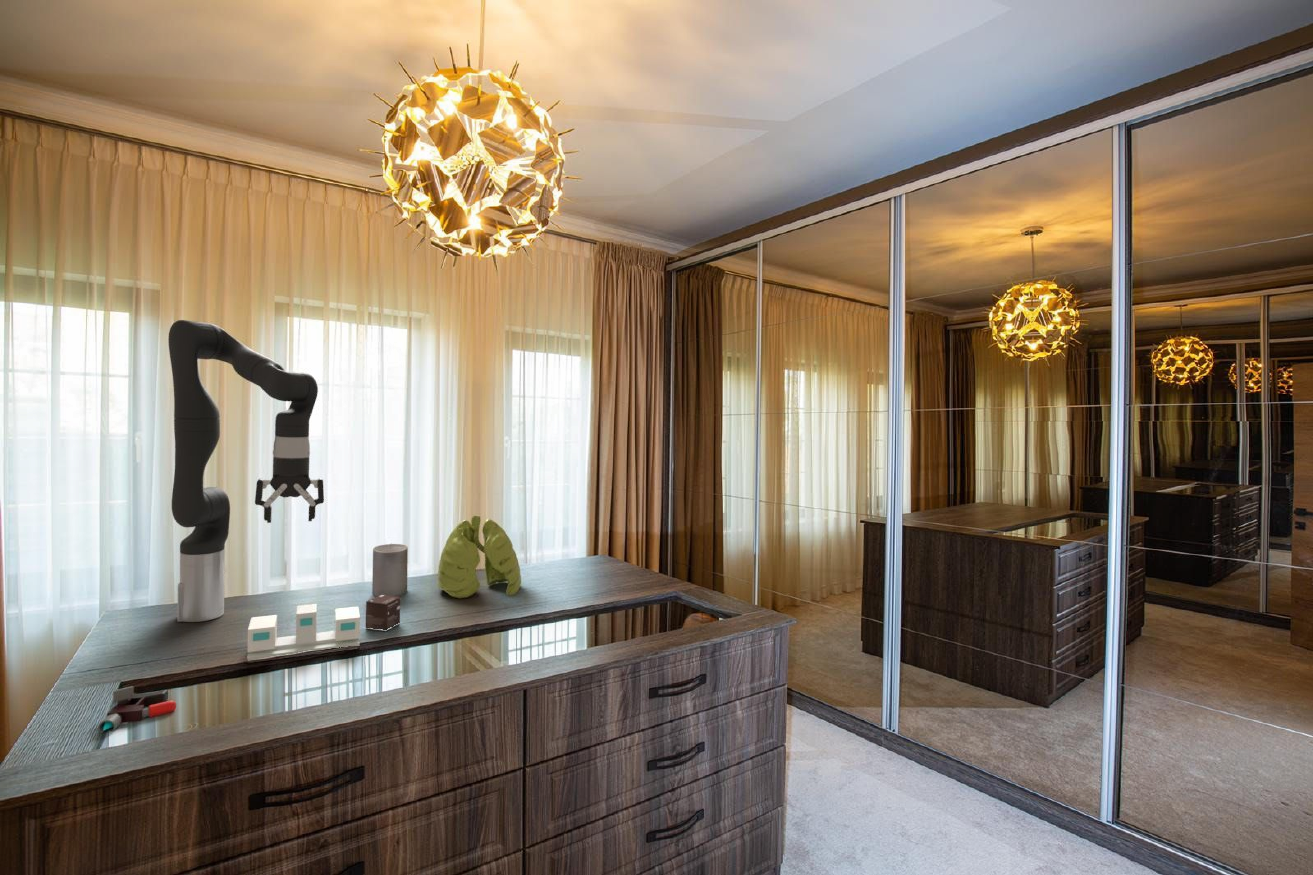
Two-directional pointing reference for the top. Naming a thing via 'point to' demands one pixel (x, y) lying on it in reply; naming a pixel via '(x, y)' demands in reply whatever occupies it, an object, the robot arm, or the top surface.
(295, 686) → the top surface
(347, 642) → the board
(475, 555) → the lungs
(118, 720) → the toy gun
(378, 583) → the pillar candle
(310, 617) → the block
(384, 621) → the box
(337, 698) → the top surface
